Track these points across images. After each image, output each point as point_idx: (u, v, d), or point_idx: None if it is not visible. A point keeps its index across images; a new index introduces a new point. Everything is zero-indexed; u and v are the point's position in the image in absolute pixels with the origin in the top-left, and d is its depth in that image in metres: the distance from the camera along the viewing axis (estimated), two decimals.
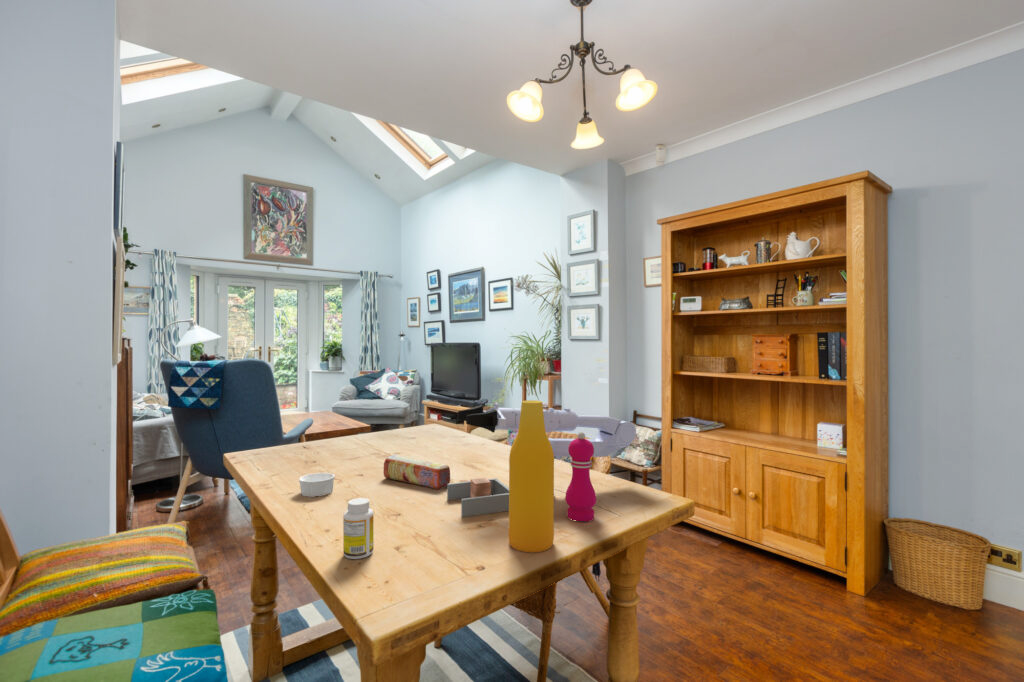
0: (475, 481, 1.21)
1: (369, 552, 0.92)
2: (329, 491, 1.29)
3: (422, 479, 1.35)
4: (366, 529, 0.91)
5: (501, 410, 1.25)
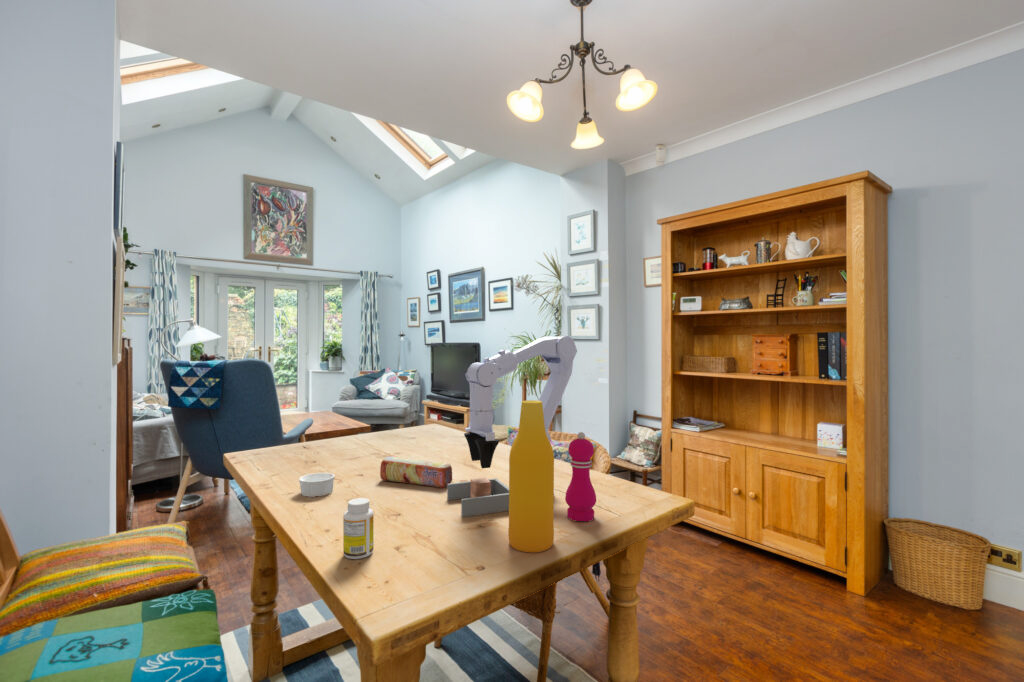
0: (475, 481, 1.21)
1: (369, 552, 0.92)
2: (329, 491, 1.29)
3: (425, 478, 1.35)
4: (366, 529, 0.91)
5: (474, 426, 1.19)
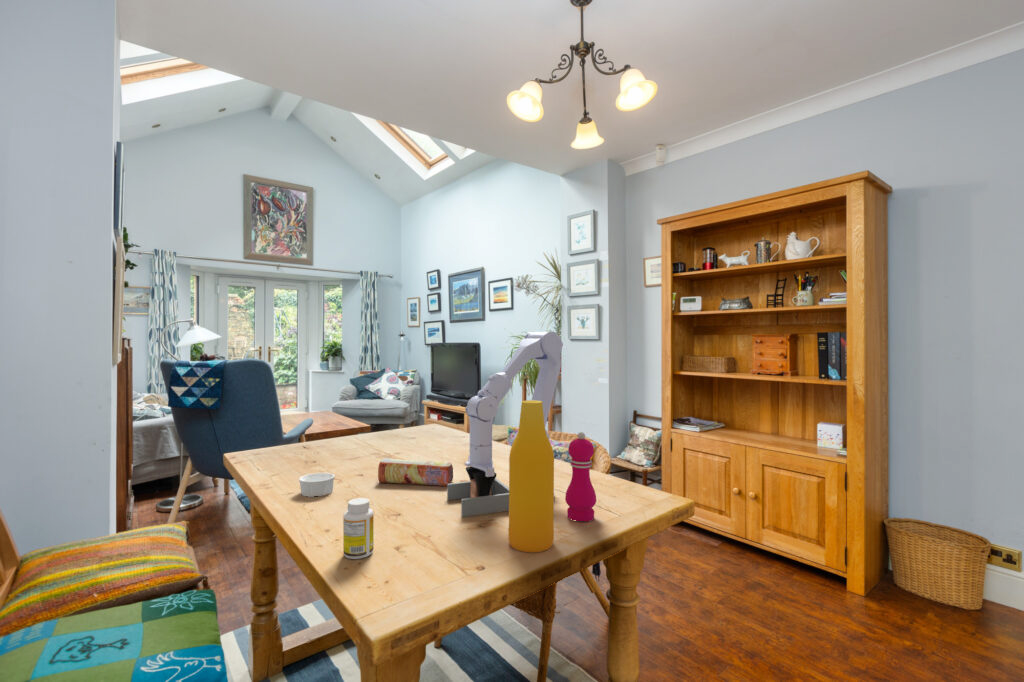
0: (475, 481, 1.21)
1: (369, 552, 0.92)
2: (329, 491, 1.29)
3: (429, 478, 1.36)
4: (366, 529, 0.91)
5: (473, 460, 1.19)
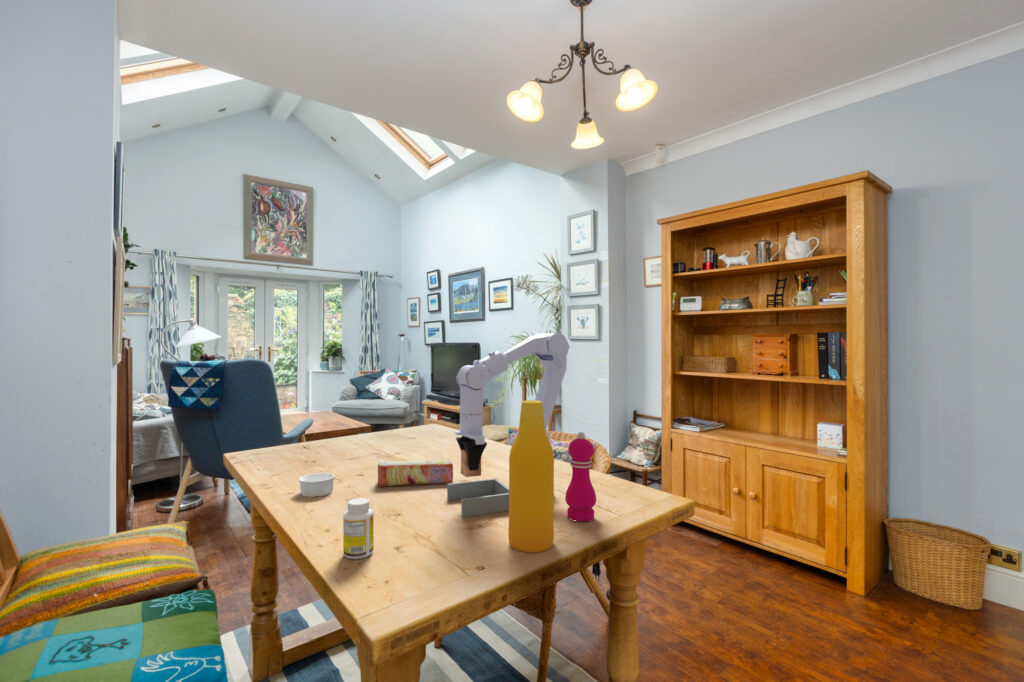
0: (465, 450, 1.20)
1: (369, 552, 0.92)
2: (329, 491, 1.29)
3: (433, 476, 1.37)
4: (366, 529, 0.91)
5: (464, 429, 1.18)
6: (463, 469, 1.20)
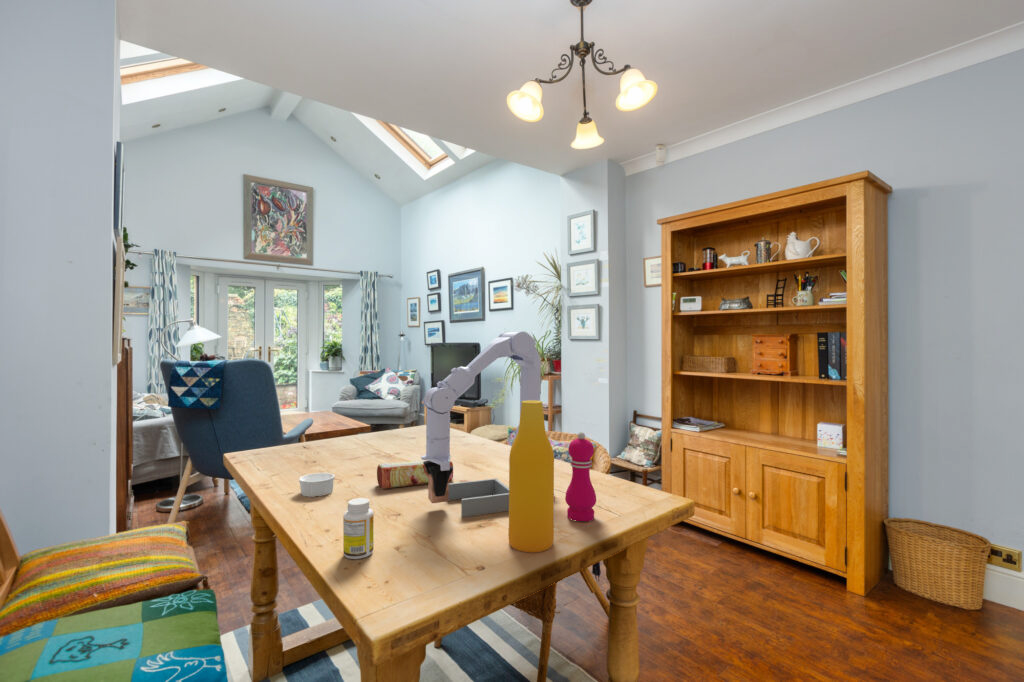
0: None
1: (369, 552, 0.92)
2: (329, 491, 1.29)
3: None
4: (366, 529, 0.91)
5: (430, 454, 1.15)
6: (430, 495, 1.17)
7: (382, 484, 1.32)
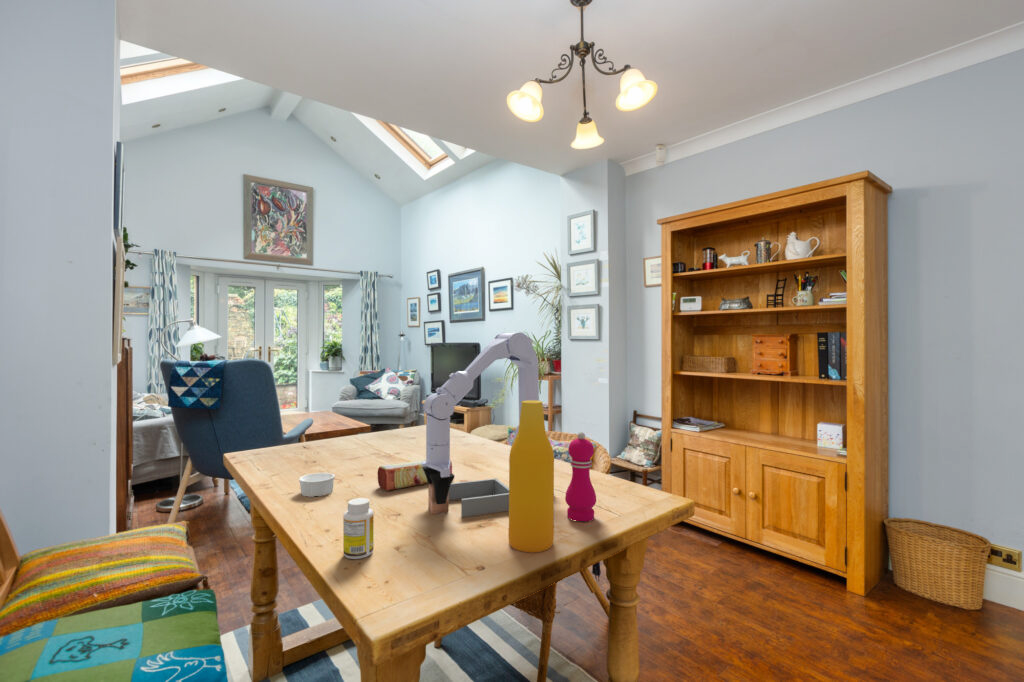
0: (433, 486, 1.17)
1: (369, 552, 0.92)
2: (329, 491, 1.29)
3: None
4: (366, 529, 0.91)
5: (430, 460, 1.15)
6: (430, 505, 1.17)
7: (387, 486, 1.30)
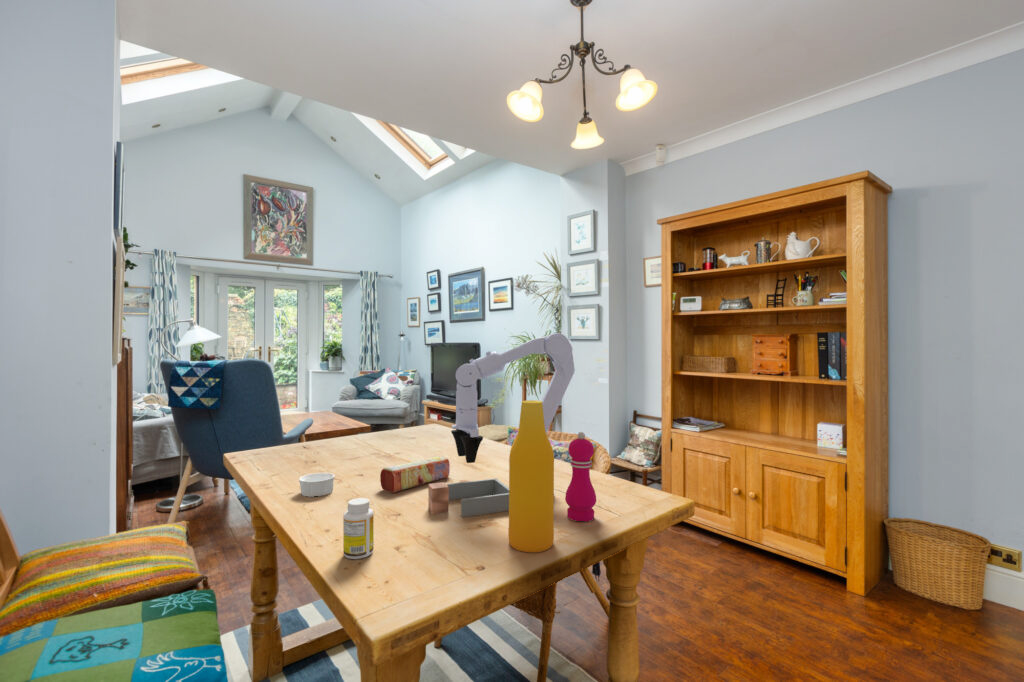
0: (432, 486, 1.17)
1: (369, 552, 0.92)
2: (329, 491, 1.29)
3: (437, 473, 1.40)
4: (366, 529, 0.91)
5: (459, 423, 1.27)
6: (430, 505, 1.17)
7: (394, 487, 1.29)
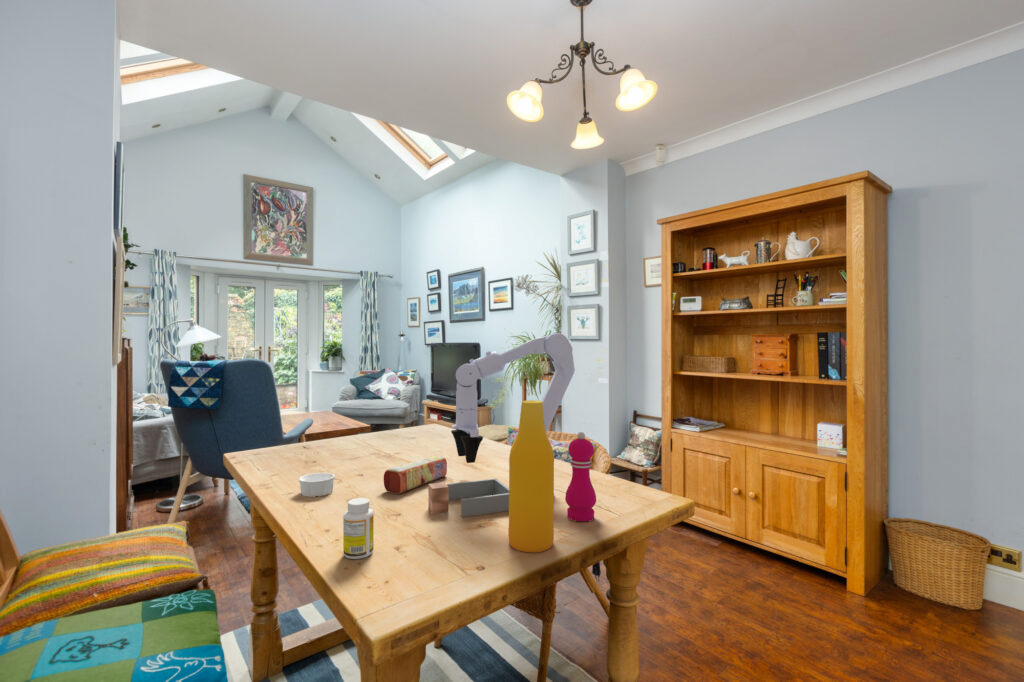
0: (432, 486, 1.17)
1: (369, 552, 0.92)
2: (329, 491, 1.29)
3: (436, 473, 1.41)
4: (366, 529, 0.91)
5: (459, 423, 1.27)
6: (430, 505, 1.17)
7: (400, 488, 1.28)
